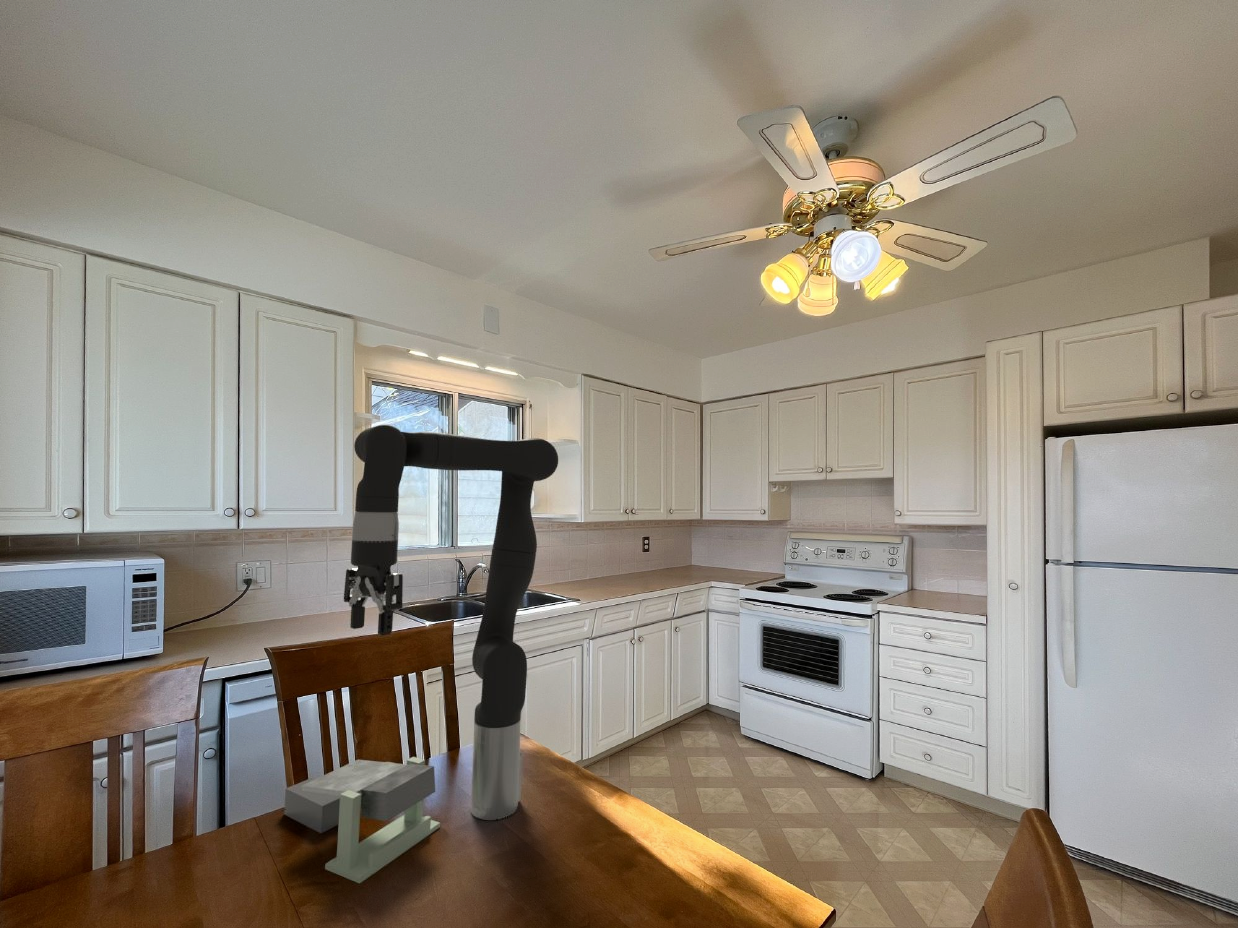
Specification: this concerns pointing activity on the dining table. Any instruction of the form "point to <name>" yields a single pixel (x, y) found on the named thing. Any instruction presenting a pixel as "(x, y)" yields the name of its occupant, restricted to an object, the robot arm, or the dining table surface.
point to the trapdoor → (379, 786)
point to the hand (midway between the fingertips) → (370, 631)
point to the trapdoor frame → (375, 837)
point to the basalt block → (312, 807)
